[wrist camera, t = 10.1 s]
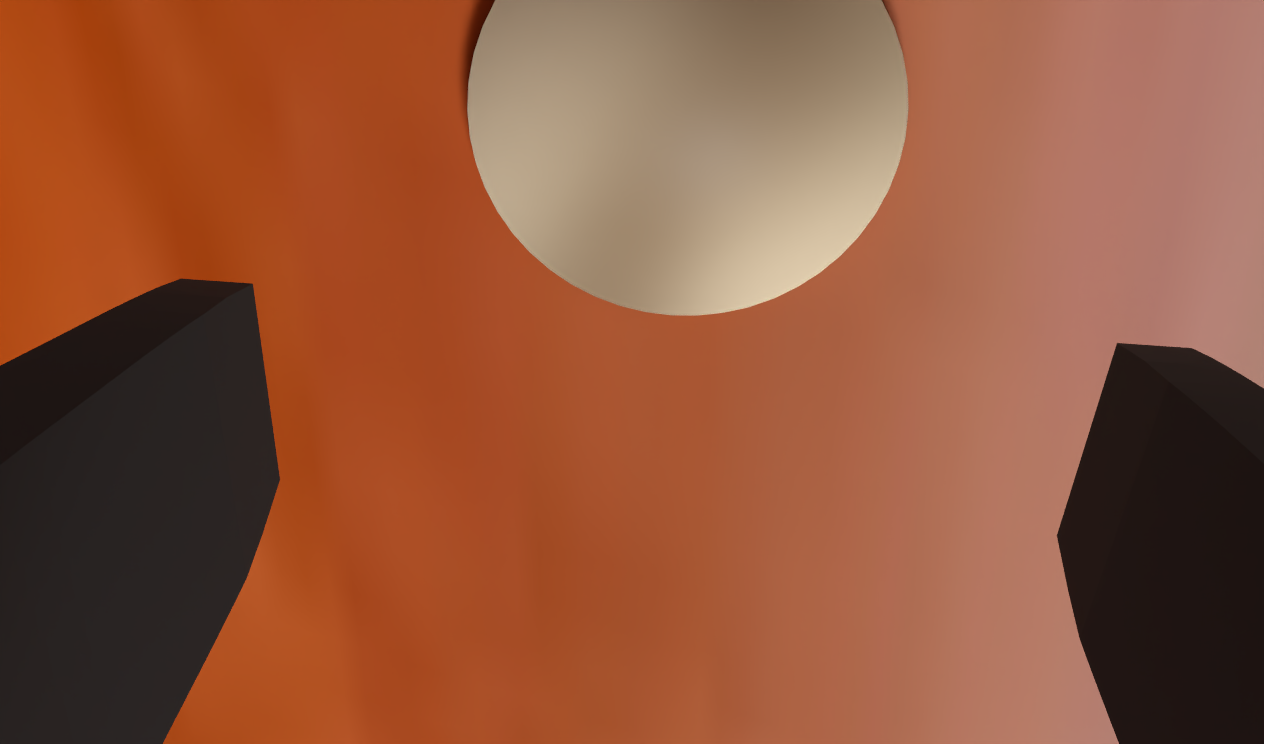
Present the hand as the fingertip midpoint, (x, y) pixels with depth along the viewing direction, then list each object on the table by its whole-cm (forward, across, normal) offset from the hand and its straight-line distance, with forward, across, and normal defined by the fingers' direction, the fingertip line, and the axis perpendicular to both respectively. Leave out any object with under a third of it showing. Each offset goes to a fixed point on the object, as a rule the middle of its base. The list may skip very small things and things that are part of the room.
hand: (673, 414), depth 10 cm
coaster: (+7, 0, 0) cm, 7 cm away
